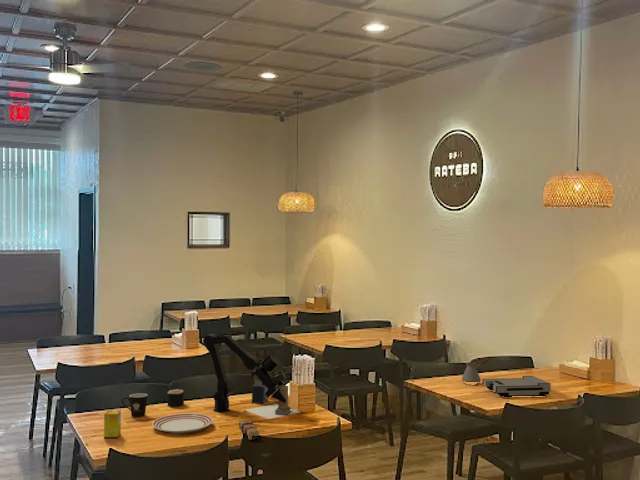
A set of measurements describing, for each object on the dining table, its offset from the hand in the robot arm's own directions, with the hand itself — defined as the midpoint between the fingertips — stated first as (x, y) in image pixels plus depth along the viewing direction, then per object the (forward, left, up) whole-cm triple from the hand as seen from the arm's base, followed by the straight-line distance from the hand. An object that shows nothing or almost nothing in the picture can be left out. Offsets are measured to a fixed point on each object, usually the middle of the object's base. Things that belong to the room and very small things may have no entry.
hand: (286, 401), depth 320 cm
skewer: (-32, -14, -8) cm, 36 cm away
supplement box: (-82, +19, -7) cm, 84 cm away
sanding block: (-1, +1, -6) cm, 6 cm away
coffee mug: (-59, +46, -7) cm, 75 cm away
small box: (+3, +28, -7) cm, 29 cm away
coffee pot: (+139, -13, -7) cm, 140 cm away
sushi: (-34, +52, -7) cm, 62 cm away
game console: (+134, -44, -8) cm, 141 cm away
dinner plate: (-51, +13, -8) cm, 53 cm away
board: (-4, +7, -7) cm, 11 cm away
